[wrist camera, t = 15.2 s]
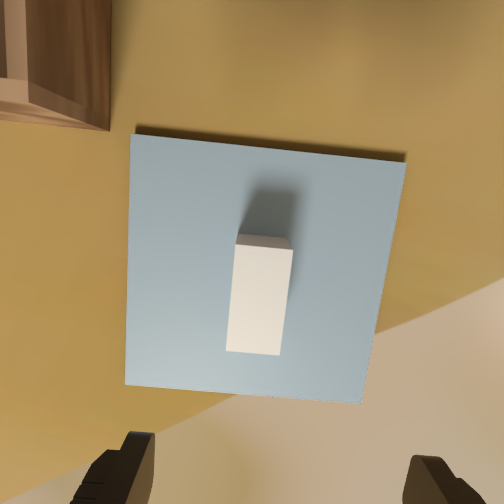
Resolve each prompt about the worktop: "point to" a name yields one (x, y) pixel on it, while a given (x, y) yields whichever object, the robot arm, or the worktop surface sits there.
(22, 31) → the box
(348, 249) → the lid
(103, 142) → the worktop surface
